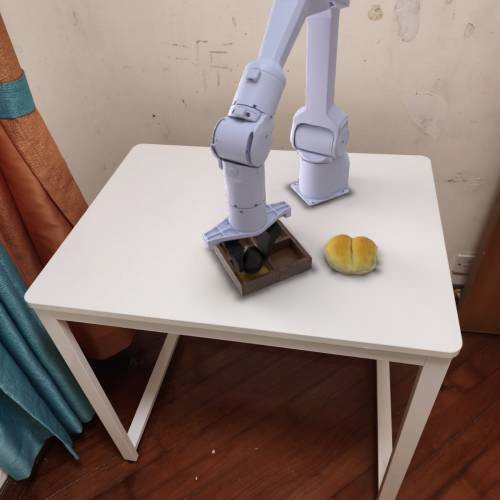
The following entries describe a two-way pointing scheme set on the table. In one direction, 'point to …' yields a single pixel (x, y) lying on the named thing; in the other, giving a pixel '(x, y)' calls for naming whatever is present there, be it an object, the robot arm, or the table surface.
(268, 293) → the table surface
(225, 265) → the brown compartment tray
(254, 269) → the egg
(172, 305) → the table surface
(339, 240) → the bread roll
